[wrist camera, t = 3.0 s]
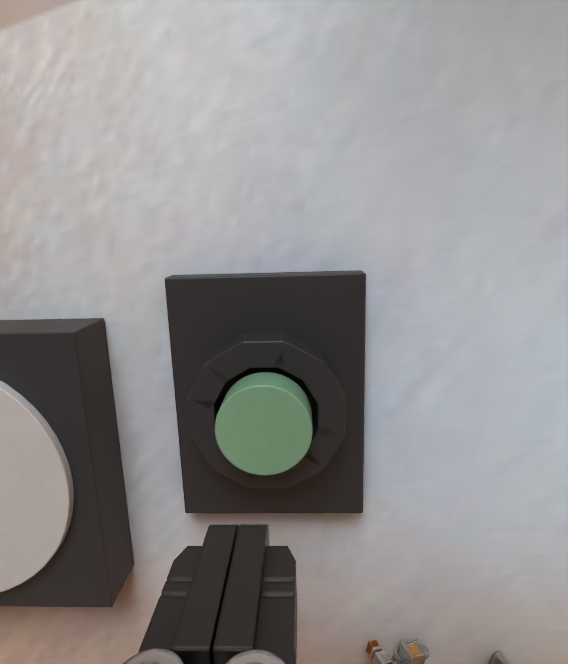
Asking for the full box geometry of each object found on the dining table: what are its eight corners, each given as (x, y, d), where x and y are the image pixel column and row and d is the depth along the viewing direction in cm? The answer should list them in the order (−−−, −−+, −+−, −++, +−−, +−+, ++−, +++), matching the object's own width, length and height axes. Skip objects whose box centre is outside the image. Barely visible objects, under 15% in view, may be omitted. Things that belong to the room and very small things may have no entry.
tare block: (171, 275, 21) (150, 282, 19) (362, 270, 21) (372, 277, 18) (190, 499, 24) (175, 537, 21) (360, 499, 24) (368, 538, 21)
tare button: (219, 371, 20) (211, 385, 18) (311, 370, 20) (311, 384, 18) (224, 455, 21) (217, 476, 19) (312, 455, 20) (313, 475, 19)
